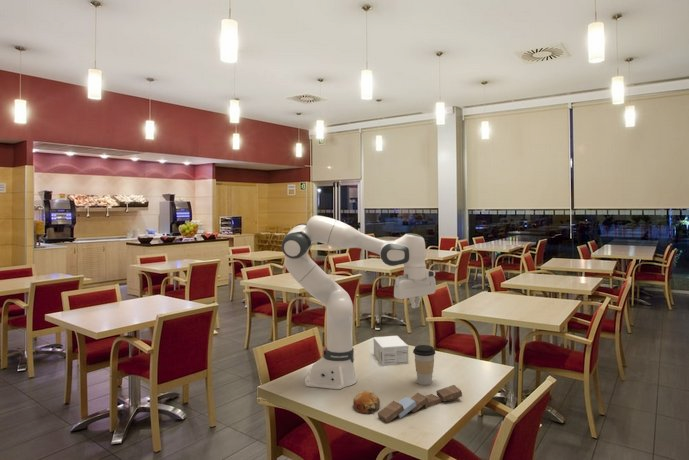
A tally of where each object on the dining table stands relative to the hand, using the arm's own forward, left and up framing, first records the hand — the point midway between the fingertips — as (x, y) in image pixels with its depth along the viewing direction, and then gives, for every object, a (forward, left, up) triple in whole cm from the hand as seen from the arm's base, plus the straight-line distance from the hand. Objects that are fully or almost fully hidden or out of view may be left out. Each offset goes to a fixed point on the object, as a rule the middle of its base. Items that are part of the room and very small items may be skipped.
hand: (415, 307), depth 182 cm
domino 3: (-4, -19, -33) cm, 39 cm away
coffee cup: (+4, +8, -34) cm, 36 cm away
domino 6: (+10, -8, -34) cm, 36 cm away
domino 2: (-9, -23, -33) cm, 42 cm away
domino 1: (-14, -27, -33) cm, 45 cm away
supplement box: (-10, +37, -35) cm, 52 cm away
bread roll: (-20, -17, -35) cm, 43 cm away
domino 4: (+1, -15, -33) cm, 36 cm away
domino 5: (+8, -10, -32) cm, 35 cm away
